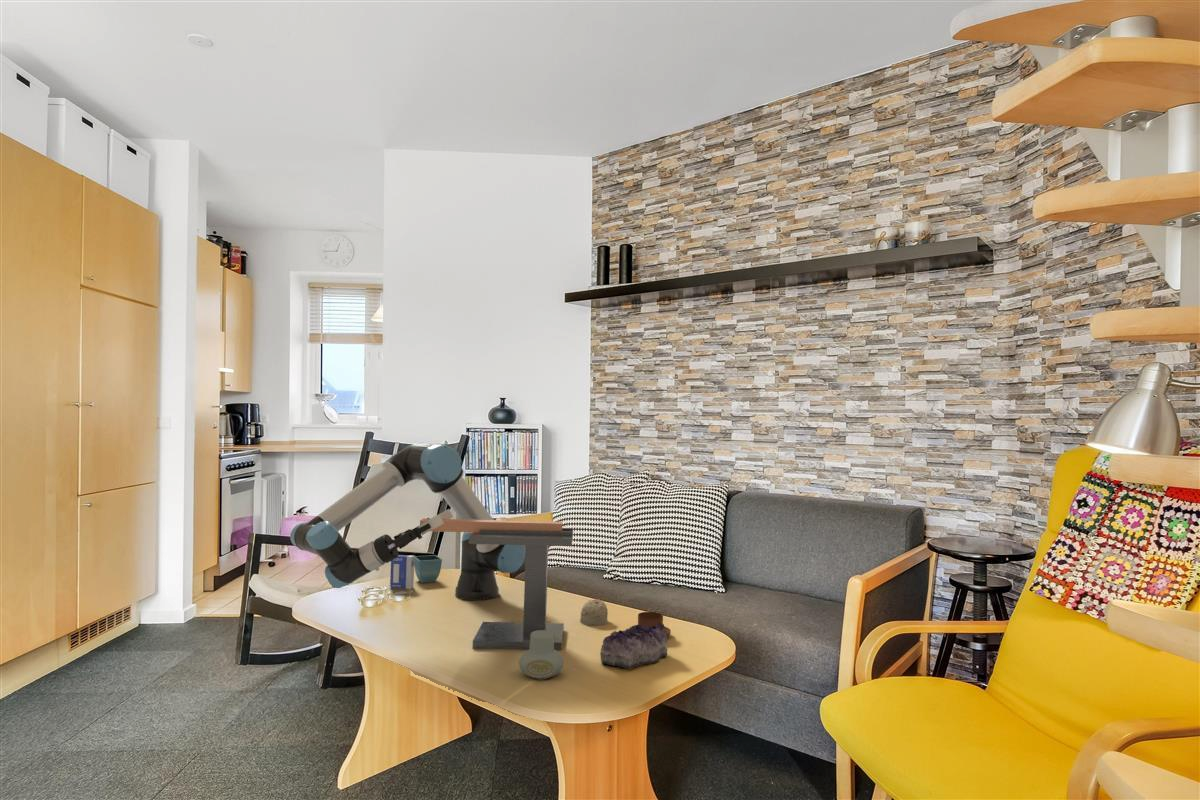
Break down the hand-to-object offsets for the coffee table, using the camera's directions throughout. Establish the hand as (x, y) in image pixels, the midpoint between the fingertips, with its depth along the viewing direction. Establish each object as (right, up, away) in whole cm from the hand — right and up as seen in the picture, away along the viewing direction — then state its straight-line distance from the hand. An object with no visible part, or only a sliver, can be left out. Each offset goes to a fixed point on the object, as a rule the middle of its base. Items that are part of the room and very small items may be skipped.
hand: (446, 515), depth 193 cm
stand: (+21, -35, -1) cm, 41 cm away
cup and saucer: (+58, -36, +5) cm, 69 cm away
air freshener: (+29, -34, -28) cm, 53 cm away
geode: (+53, -35, -16) cm, 66 cm away
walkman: (-29, -36, +54) cm, 71 cm away
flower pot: (-22, -36, +65) cm, 78 cm away
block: (+13, -5, 0) cm, 14 cm away
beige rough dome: (+42, -36, +18) cm, 58 cm away
